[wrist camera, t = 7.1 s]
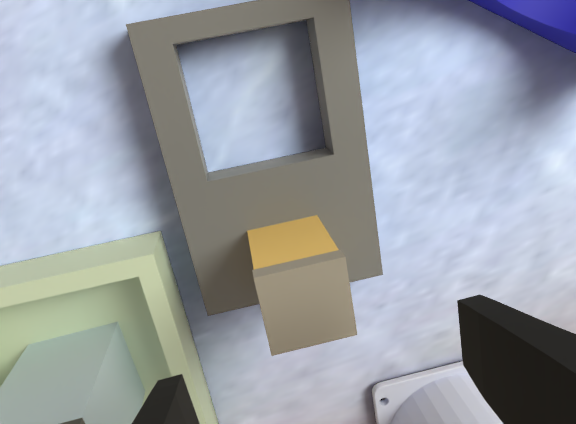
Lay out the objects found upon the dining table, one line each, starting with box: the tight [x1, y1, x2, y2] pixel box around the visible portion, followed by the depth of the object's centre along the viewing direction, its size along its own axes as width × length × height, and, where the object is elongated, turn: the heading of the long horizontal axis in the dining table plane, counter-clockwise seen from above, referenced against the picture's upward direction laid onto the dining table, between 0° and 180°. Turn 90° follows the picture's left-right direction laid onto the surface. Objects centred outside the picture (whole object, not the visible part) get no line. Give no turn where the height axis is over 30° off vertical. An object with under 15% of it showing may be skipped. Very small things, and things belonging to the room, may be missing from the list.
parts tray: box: [0, 231, 219, 424], centre depth 20 cm, size 12×10×2 cm
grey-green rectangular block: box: [0, 322, 145, 424], centre depth 18 cm, size 4×4×7 cm
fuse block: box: [126, 0, 383, 356], centre depth 17 cm, size 12×8×6 cm, turn 10°
